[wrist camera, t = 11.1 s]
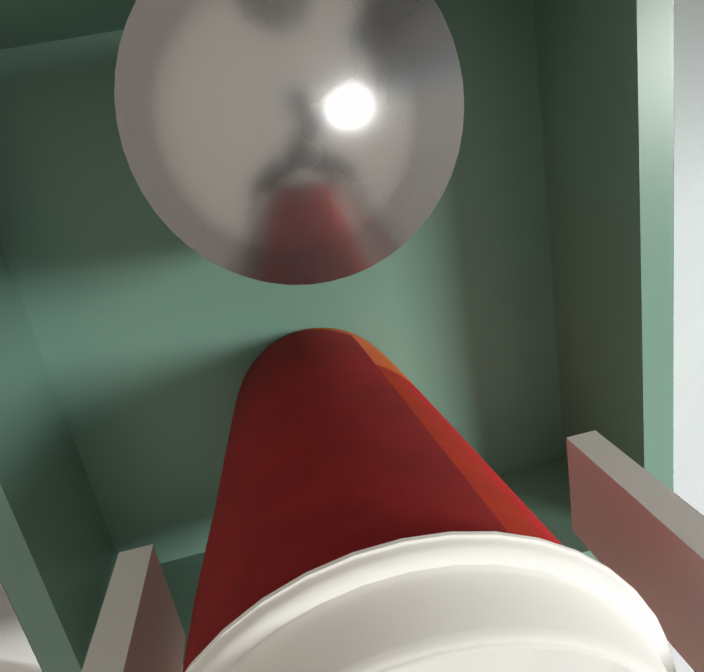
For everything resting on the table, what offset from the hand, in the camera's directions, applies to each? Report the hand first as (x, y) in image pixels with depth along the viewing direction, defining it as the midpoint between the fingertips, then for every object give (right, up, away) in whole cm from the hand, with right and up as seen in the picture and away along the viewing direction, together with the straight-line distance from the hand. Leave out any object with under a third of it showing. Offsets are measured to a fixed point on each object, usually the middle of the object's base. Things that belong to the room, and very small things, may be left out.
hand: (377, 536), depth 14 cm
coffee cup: (-2, +2, +8) cm, 8 cm away
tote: (-2, +6, +7) cm, 10 cm away
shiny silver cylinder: (-3, +11, +5) cm, 13 cm away
